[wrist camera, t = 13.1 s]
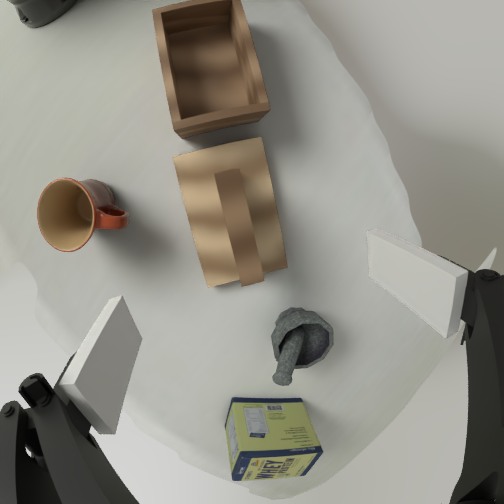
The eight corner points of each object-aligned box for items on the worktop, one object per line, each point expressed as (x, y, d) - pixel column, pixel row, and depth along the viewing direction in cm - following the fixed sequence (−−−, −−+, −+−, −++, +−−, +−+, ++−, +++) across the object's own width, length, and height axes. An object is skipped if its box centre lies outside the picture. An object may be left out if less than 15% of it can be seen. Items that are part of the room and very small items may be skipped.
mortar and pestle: (307, 287, 44) (336, 325, 33) (326, 326, 47) (354, 367, 36) (247, 321, 45) (259, 368, 33) (272, 356, 48) (288, 403, 36)
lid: (175, 157, 36) (158, 152, 24) (258, 138, 36) (279, 125, 25) (208, 281, 42) (208, 323, 30) (283, 262, 42) (310, 297, 31)
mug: (70, 226, 36) (35, 244, 26) (76, 171, 33) (40, 174, 24) (137, 241, 38) (116, 264, 28) (147, 182, 36) (126, 187, 26)
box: (161, 34, 29) (152, 9, 21) (233, 20, 30) (238, -7, 22) (181, 138, 35) (173, 130, 27) (258, 121, 36) (270, 109, 28)
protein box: (289, 424, 55) (306, 475, 40) (224, 425, 52) (230, 481, 37) (302, 396, 52) (325, 451, 38) (231, 396, 49) (239, 458, 35)
